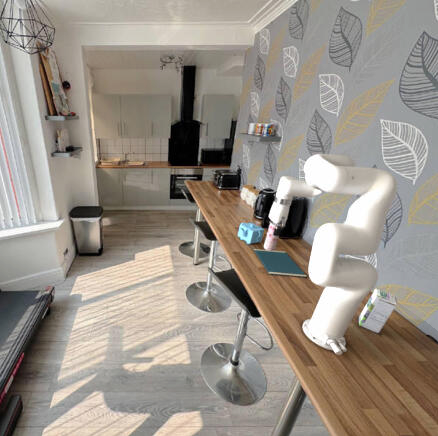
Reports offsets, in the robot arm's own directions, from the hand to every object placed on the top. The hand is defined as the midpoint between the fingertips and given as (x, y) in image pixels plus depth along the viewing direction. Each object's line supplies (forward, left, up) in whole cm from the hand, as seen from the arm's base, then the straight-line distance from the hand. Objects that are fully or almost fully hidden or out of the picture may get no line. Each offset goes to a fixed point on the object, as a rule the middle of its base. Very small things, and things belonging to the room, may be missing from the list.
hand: (273, 232), depth 126 cm
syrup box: (-45, -21, -15) cm, 52 cm away
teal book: (-5, -4, -15) cm, 16 cm away
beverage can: (0, 0, -10) cm, 10 cm away
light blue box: (+18, +5, -15) cm, 24 cm away
